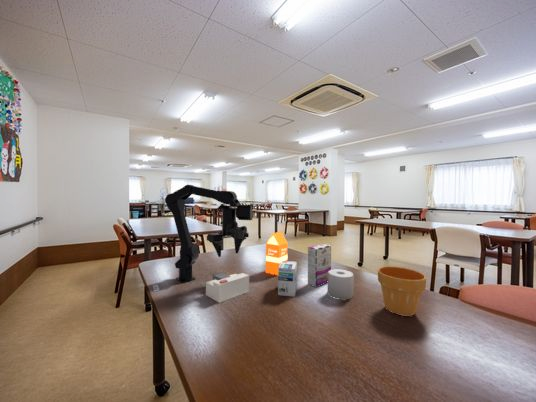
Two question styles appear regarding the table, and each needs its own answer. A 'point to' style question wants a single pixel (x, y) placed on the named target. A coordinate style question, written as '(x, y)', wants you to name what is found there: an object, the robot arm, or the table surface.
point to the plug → (220, 276)
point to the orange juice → (275, 252)
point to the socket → (228, 287)
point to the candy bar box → (319, 264)
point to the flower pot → (401, 288)
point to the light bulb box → (287, 278)
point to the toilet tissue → (340, 283)
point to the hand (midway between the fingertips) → (228, 255)
